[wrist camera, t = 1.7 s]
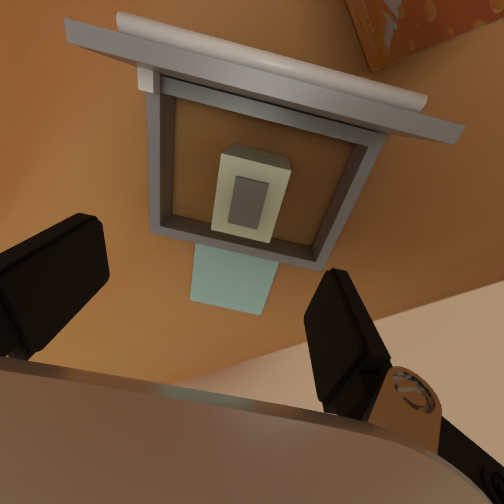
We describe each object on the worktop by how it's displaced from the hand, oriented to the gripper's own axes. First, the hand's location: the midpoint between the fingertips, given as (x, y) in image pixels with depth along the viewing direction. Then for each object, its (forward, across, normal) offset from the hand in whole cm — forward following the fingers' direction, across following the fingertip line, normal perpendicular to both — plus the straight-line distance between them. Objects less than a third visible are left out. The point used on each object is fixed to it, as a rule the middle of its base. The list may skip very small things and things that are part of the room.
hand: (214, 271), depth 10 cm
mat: (+15, -1, +12) cm, 19 cm away
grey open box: (+15, -1, 0) cm, 15 cm away
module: (+15, -1, 0) cm, 15 cm away
